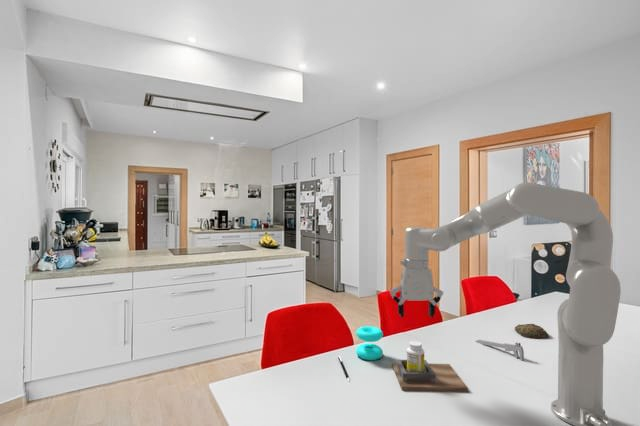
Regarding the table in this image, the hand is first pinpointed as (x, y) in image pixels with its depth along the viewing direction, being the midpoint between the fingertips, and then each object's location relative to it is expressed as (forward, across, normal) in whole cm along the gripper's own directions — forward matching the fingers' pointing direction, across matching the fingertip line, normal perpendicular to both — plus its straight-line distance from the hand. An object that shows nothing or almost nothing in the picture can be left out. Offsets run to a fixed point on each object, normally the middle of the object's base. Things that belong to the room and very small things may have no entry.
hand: (416, 316), depth 111 cm
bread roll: (+21, +63, +42) cm, 79 cm away
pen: (+21, -24, +6) cm, 32 cm away
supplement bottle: (+19, 0, 0) cm, 19 cm away
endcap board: (+20, +4, 0) cm, 21 cm away
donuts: (+20, -13, +16) cm, 29 cm away
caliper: (+21, +38, +24) cm, 50 cm away
